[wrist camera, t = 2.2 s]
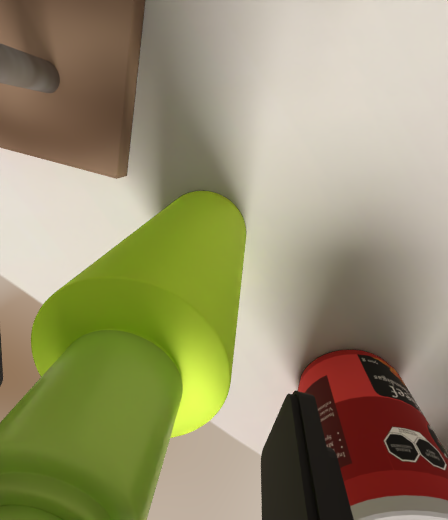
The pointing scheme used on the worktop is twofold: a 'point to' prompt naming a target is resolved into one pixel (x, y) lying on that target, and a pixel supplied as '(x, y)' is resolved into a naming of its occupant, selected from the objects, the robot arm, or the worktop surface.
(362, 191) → the worktop surface
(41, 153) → the peg stand
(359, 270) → the worktop surface
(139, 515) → the soap dispenser
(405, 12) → the worktop surface
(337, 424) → the canned food
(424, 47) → the worktop surface
